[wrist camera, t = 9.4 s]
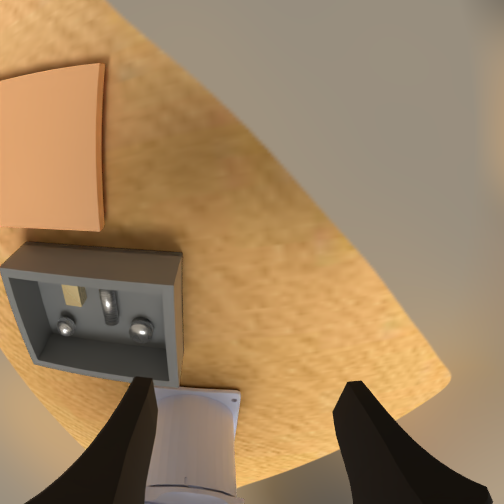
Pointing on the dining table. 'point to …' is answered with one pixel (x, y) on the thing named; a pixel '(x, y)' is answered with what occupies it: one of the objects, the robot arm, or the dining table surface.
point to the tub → (99, 310)
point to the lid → (52, 149)
